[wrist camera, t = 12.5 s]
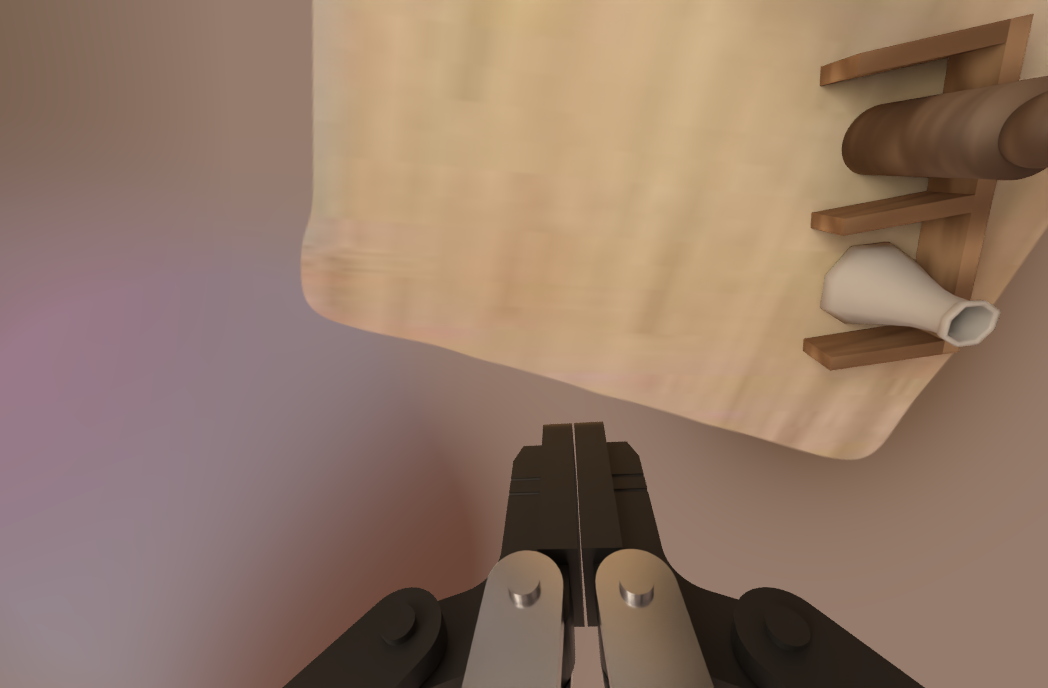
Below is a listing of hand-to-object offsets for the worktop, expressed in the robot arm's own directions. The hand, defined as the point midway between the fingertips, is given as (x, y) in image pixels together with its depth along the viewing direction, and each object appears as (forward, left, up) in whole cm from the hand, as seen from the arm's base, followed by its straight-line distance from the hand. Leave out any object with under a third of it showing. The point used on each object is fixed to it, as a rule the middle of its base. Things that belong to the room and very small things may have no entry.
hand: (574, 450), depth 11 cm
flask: (+8, +25, -28) cm, 39 cm away
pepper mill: (-3, +25, -28) cm, 37 cm away
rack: (+2, +25, -28) cm, 37 cm away
